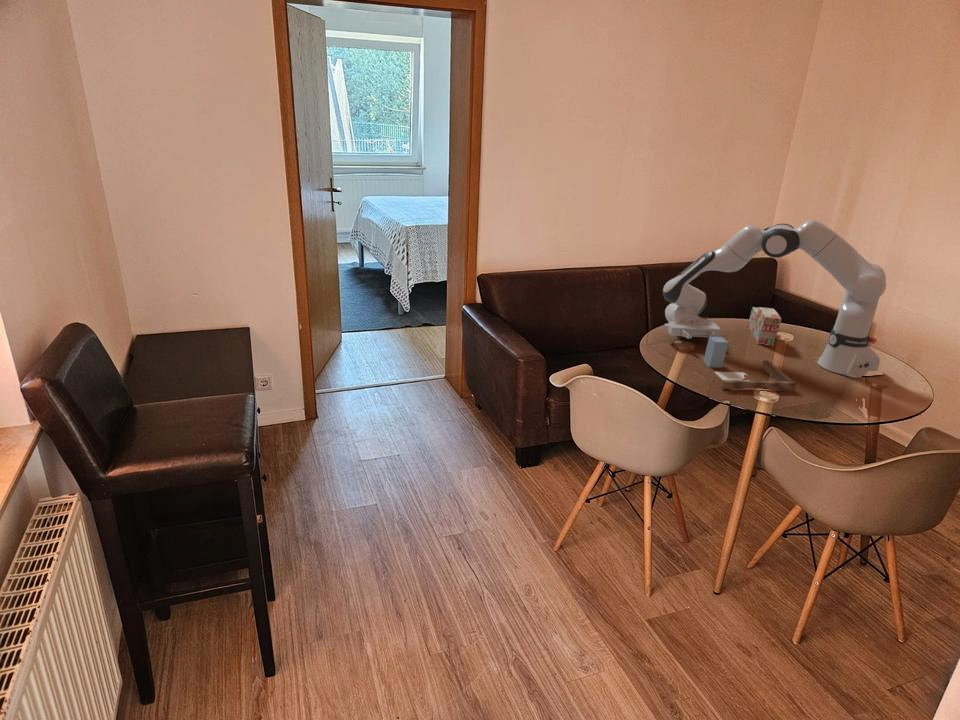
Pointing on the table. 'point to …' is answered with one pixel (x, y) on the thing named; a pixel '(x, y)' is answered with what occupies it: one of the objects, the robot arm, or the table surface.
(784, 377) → the walnut fence
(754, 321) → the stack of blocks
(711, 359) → the slate-blue block
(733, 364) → the table surface
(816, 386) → the table surface
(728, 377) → the felt pad
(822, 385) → the table surface
